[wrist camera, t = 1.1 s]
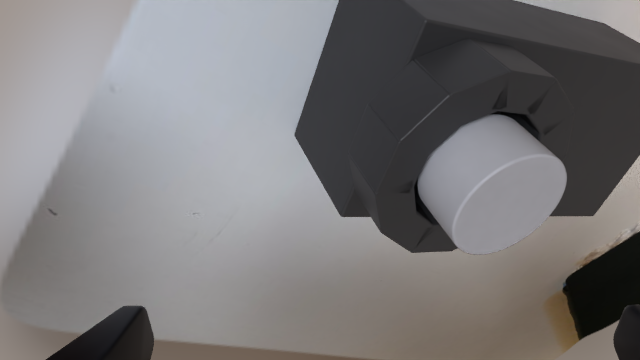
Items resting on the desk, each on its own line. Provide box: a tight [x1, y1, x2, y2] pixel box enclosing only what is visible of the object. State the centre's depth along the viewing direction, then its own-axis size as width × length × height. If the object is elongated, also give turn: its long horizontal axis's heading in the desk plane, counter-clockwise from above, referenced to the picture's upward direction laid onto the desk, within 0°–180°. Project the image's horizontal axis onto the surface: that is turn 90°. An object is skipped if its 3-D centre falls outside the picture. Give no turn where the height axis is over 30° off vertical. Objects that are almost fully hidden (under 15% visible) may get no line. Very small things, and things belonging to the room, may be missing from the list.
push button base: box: [295, 0, 640, 253], centre depth 20 cm, size 14×7×7 cm, turn 71°
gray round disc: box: [418, 114, 567, 255], centre depth 15 cm, size 4×4×2 cm
